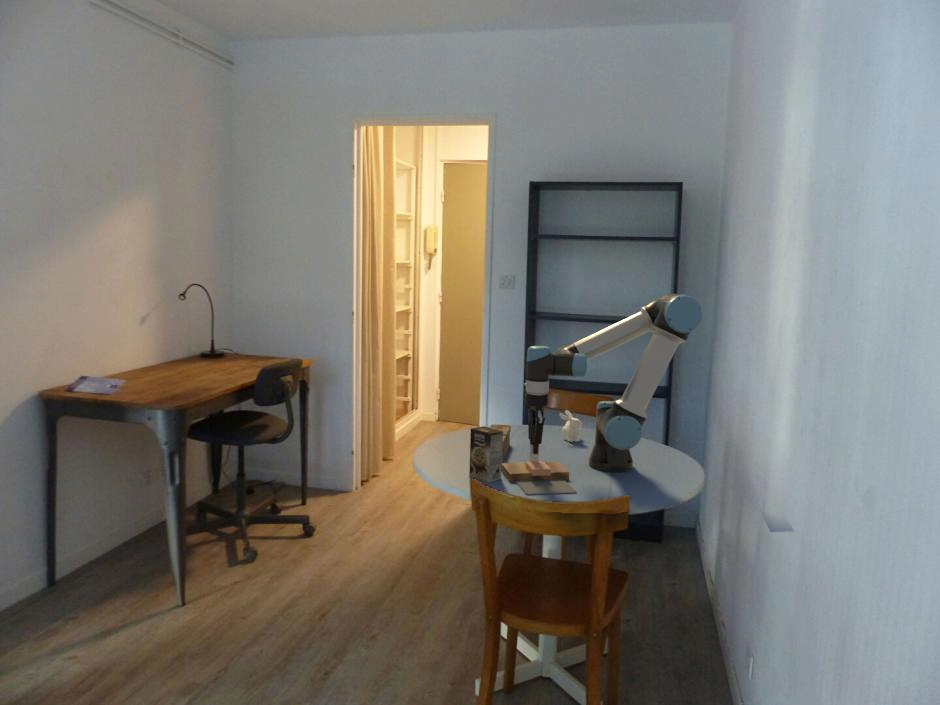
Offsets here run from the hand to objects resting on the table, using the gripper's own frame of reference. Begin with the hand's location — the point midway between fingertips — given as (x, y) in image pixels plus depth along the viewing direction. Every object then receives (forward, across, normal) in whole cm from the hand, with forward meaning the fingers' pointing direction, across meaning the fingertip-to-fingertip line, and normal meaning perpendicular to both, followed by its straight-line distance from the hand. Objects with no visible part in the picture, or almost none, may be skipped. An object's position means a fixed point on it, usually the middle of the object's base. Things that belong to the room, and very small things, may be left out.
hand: (533, 462), depth 232 cm
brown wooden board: (+4, +1, 0) cm, 4 cm away
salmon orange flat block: (+2, +5, 0) cm, 5 cm away
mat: (+4, +14, 0) cm, 14 cm away
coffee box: (+4, +2, -17) cm, 17 cm away
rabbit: (+4, -44, +28) cm, 52 cm away
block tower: (+5, -27, -7) cm, 28 cm away
